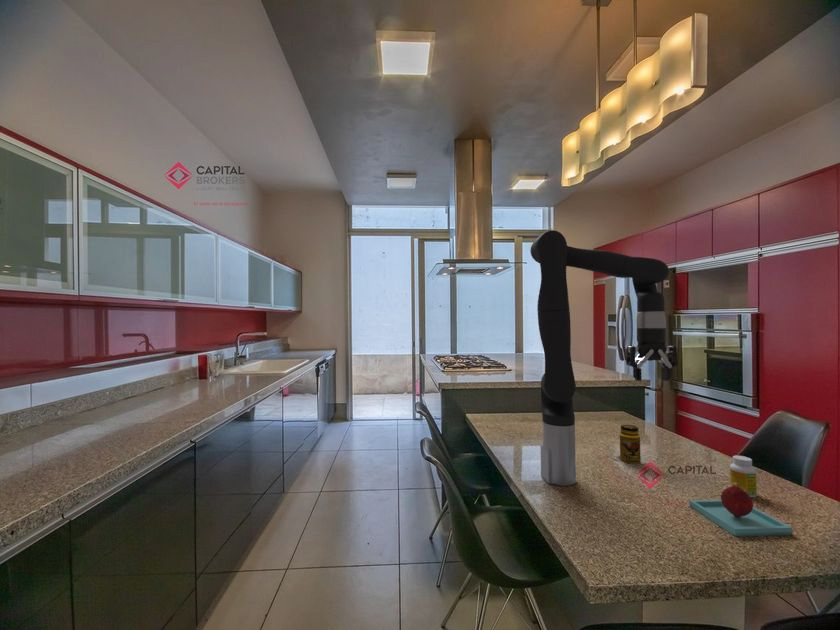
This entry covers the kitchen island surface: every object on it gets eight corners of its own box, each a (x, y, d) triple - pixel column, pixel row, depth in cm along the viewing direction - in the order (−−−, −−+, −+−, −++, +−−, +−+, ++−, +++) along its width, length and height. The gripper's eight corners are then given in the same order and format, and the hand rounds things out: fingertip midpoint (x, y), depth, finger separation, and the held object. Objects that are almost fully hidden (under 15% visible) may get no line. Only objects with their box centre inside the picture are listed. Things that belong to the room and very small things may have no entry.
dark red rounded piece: (760, 524, 83) (758, 489, 83) (731, 522, 84) (730, 487, 84) (742, 512, 88) (741, 479, 89) (716, 509, 90) (715, 477, 90)
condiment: (632, 466, 119) (631, 430, 119) (609, 458, 126) (609, 423, 127) (647, 463, 121) (646, 427, 122) (624, 455, 129) (623, 421, 130)
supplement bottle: (751, 499, 96) (750, 463, 96) (726, 491, 101) (725, 456, 101) (760, 495, 98) (759, 459, 99) (736, 487, 103) (734, 453, 103)
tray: (735, 536, 79) (735, 529, 79) (689, 506, 92) (689, 500, 92) (792, 535, 80) (792, 527, 80) (738, 505, 93) (738, 499, 93)
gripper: (635, 327, 105) (636, 382, 105) (683, 326, 105) (684, 382, 105) (620, 326, 113) (621, 378, 112) (665, 326, 113) (666, 378, 112)
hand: (652, 380), depth 109 cm, fingers open, 8 cm apart
